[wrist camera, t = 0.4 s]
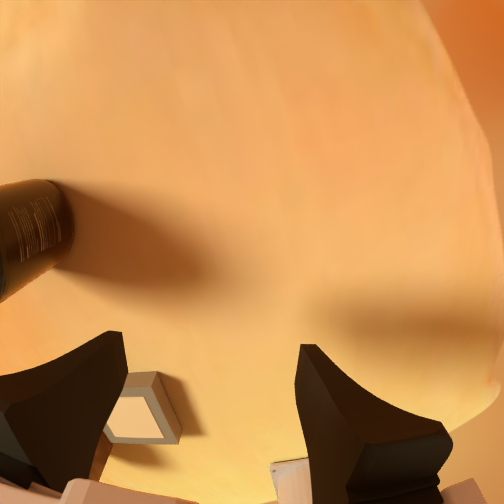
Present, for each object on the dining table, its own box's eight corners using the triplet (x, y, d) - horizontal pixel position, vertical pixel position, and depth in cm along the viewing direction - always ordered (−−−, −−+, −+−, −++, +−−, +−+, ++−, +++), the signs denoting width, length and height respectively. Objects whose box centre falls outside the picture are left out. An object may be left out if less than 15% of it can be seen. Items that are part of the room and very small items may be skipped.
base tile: (182, 428, 26) (178, 444, 24) (116, 428, 26) (110, 442, 24) (156, 371, 24) (150, 387, 22) (87, 374, 24) (77, 388, 22)
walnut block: (112, 446, 27) (96, 487, 21) (83, 443, 27) (65, 481, 22) (96, 420, 26) (76, 462, 20) (67, 418, 26) (44, 456, 20)
